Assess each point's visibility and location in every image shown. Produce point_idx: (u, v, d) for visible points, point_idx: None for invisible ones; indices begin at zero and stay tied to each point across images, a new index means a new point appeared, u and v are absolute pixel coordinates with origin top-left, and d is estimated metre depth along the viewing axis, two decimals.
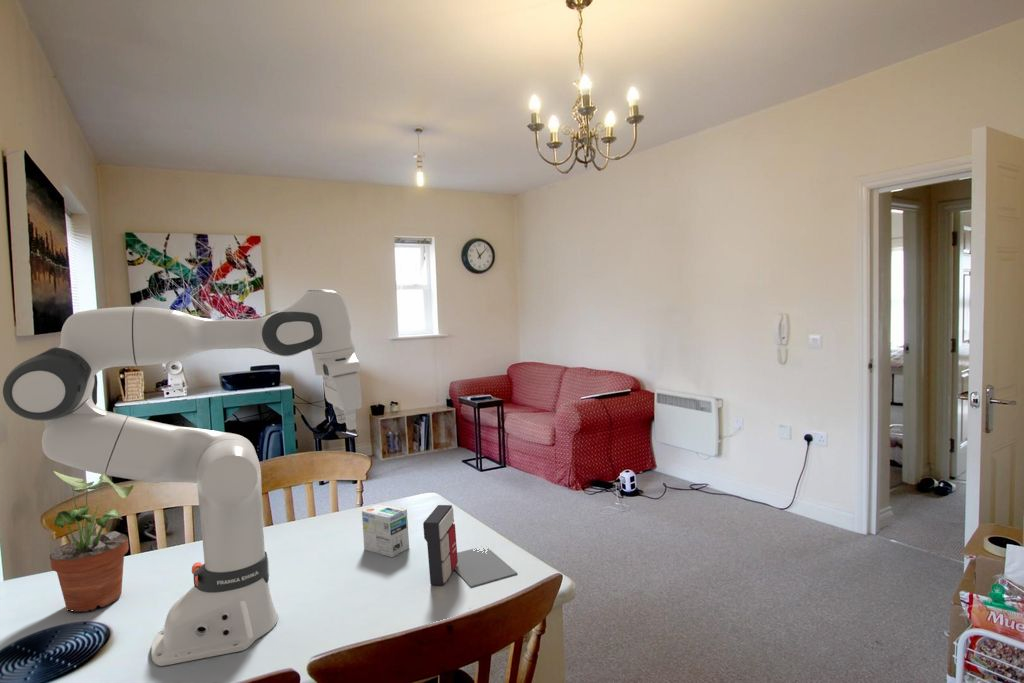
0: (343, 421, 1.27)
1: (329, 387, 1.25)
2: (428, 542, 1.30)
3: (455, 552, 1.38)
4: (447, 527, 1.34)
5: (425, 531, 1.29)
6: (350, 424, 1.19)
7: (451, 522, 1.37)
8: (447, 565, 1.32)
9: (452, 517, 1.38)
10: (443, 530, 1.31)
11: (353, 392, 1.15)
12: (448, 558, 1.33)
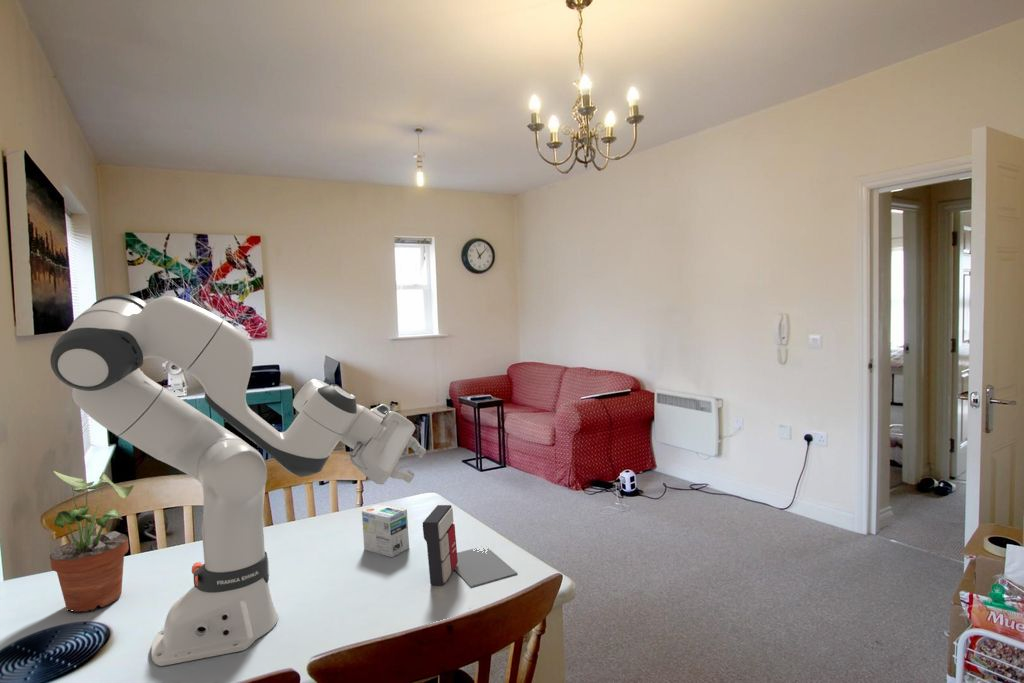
0: None
1: (383, 448, 1.21)
2: (428, 542, 1.30)
3: (455, 552, 1.38)
4: (446, 527, 1.34)
5: (424, 531, 1.29)
6: None
7: (451, 522, 1.37)
8: (447, 565, 1.32)
9: (451, 517, 1.38)
10: (442, 530, 1.31)
11: None
12: (448, 558, 1.33)
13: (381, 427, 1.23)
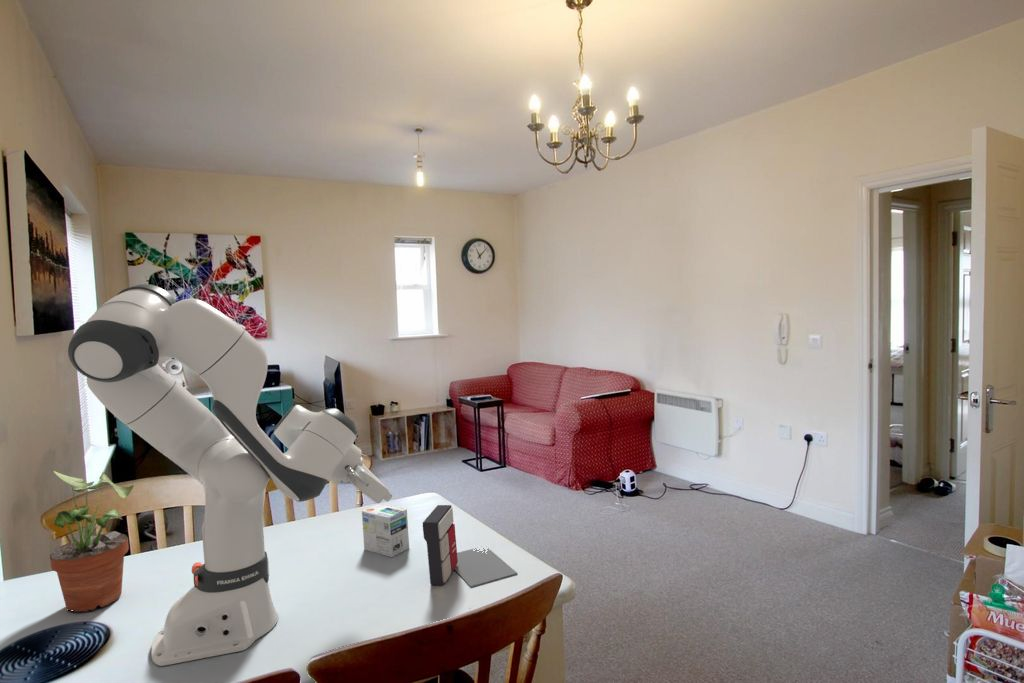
0: None
1: (368, 473, 1.23)
2: (428, 542, 1.30)
3: (455, 552, 1.38)
4: (446, 527, 1.34)
5: (424, 531, 1.29)
6: None
7: (451, 522, 1.37)
8: (447, 565, 1.32)
9: (451, 517, 1.38)
10: (442, 530, 1.31)
11: None
12: (448, 558, 1.33)
13: None
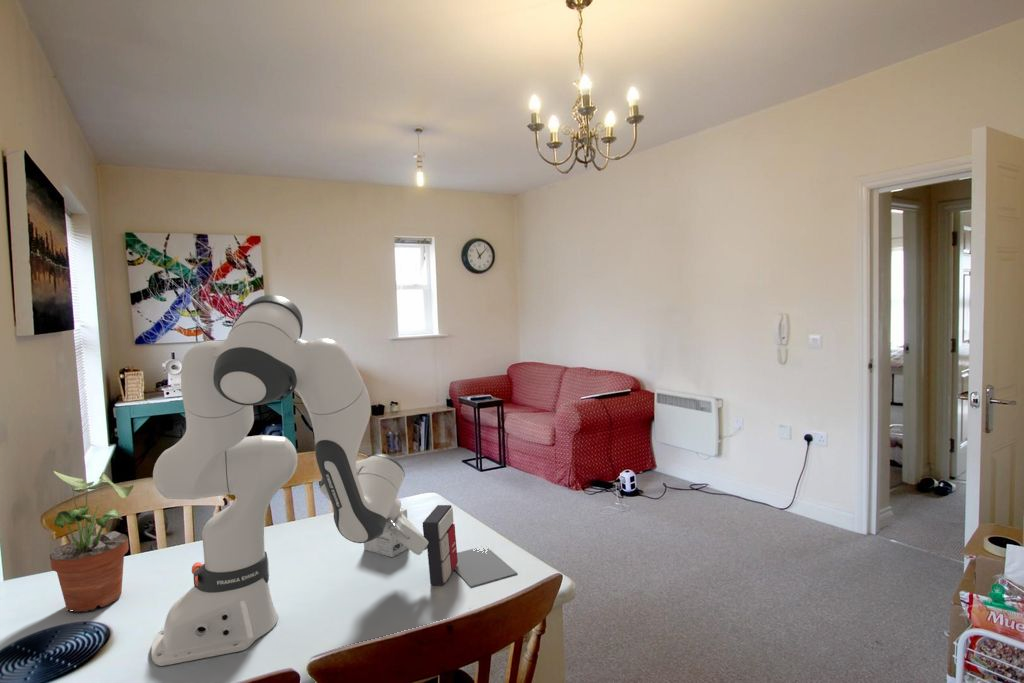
0: None
1: (408, 524, 1.27)
2: (428, 542, 1.30)
3: (455, 552, 1.38)
4: (447, 527, 1.34)
5: (424, 531, 1.29)
6: None
7: (451, 522, 1.37)
8: (447, 565, 1.32)
9: (451, 517, 1.38)
10: (442, 530, 1.31)
11: None
12: (448, 558, 1.33)
13: None
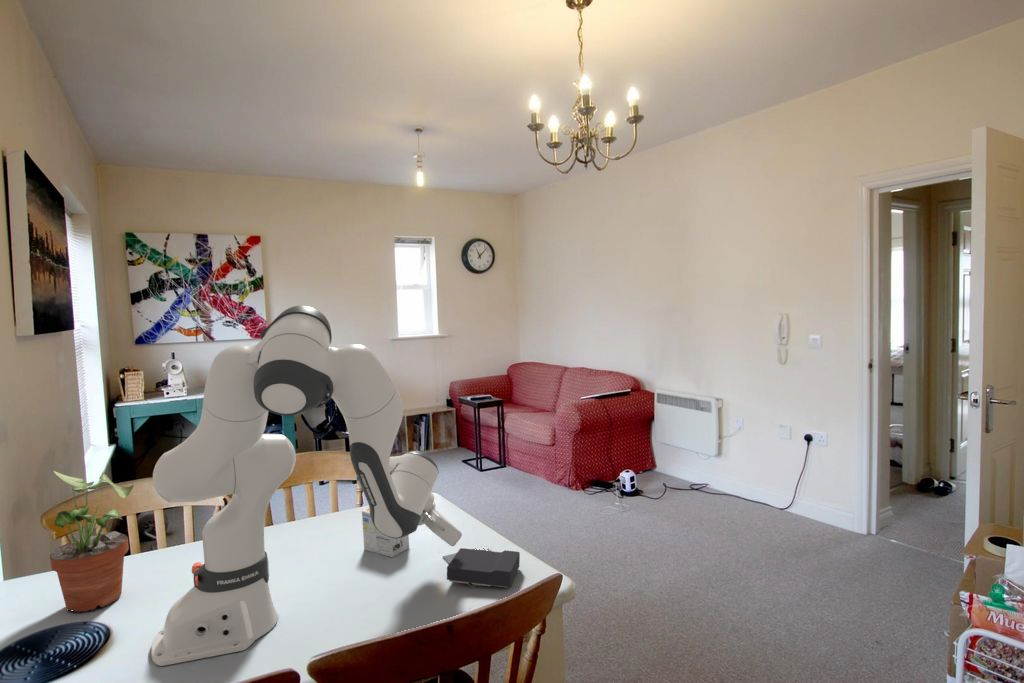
0: None
1: (441, 516, 1.31)
2: (490, 574, 1.27)
3: None
4: None
5: (501, 573, 1.27)
6: None
7: None
8: None
9: None
10: None
11: None
12: None
13: None
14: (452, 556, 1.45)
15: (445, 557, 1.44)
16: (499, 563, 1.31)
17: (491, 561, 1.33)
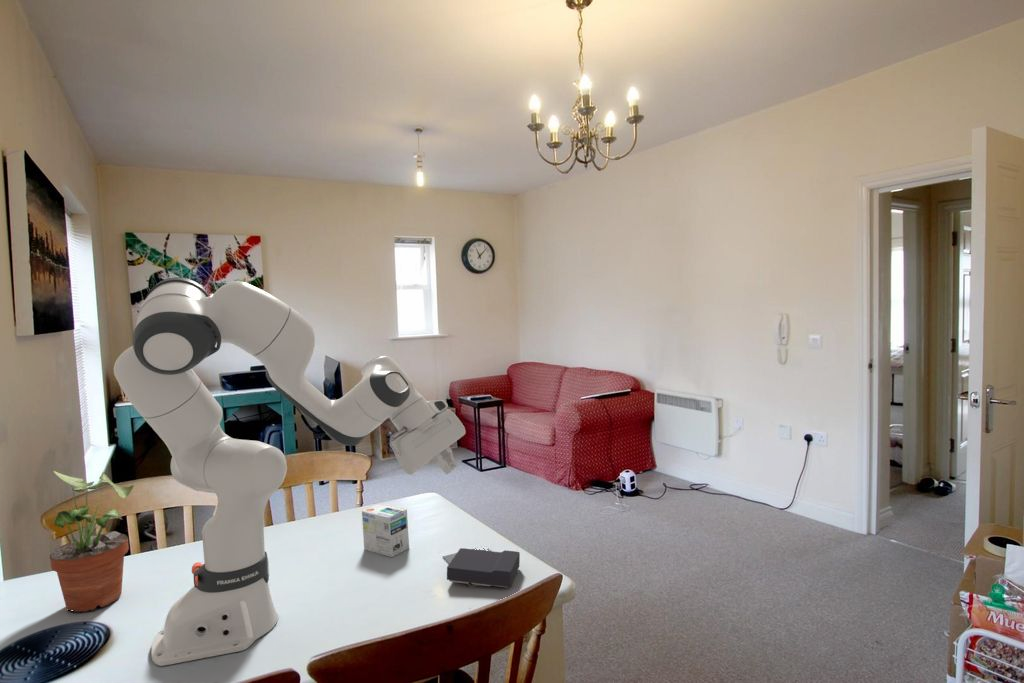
0: None
1: (424, 441, 1.23)
2: (490, 574, 1.27)
3: None
4: None
5: (501, 573, 1.27)
6: None
7: None
8: None
9: None
10: None
11: None
12: None
13: (430, 421, 1.25)
14: (452, 556, 1.45)
15: (445, 557, 1.44)
16: (499, 563, 1.31)
17: (491, 561, 1.33)
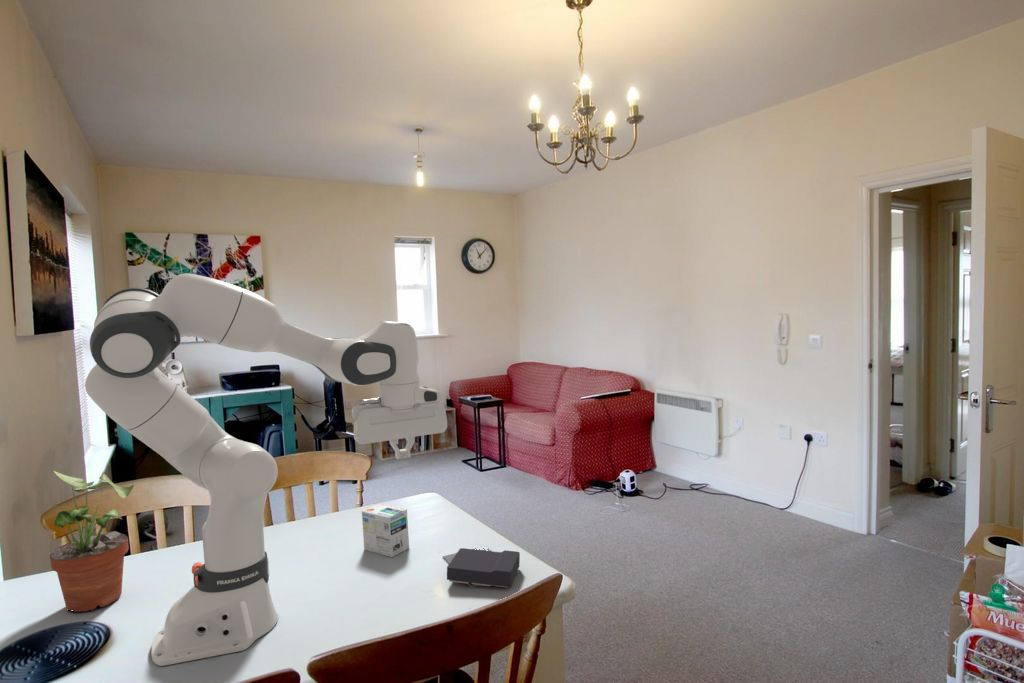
0: None
1: (387, 422, 1.21)
2: (490, 574, 1.27)
3: None
4: None
5: (501, 573, 1.27)
6: None
7: None
8: None
9: None
10: None
11: None
12: None
13: (405, 408, 1.21)
14: (452, 556, 1.45)
15: (445, 557, 1.44)
16: (499, 563, 1.31)
17: (491, 561, 1.33)
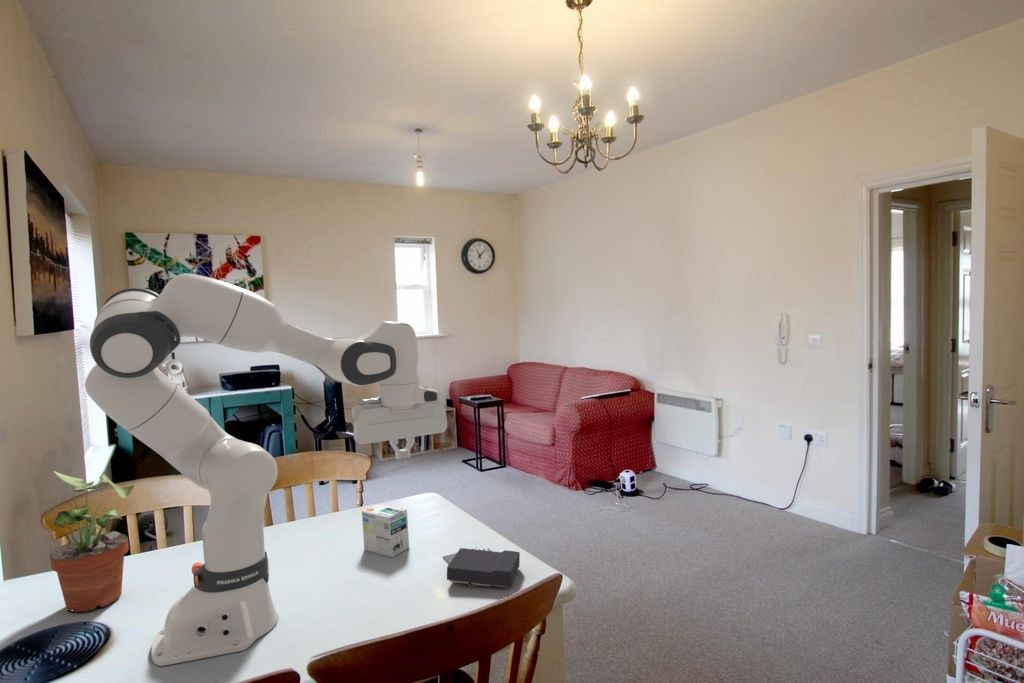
0: None
1: (387, 422, 1.21)
2: (490, 574, 1.27)
3: None
4: None
5: (501, 573, 1.27)
6: None
7: None
8: None
9: None
10: None
11: None
12: None
13: (405, 408, 1.21)
14: (452, 556, 1.45)
15: (445, 557, 1.44)
16: (499, 563, 1.31)
17: (491, 561, 1.33)
